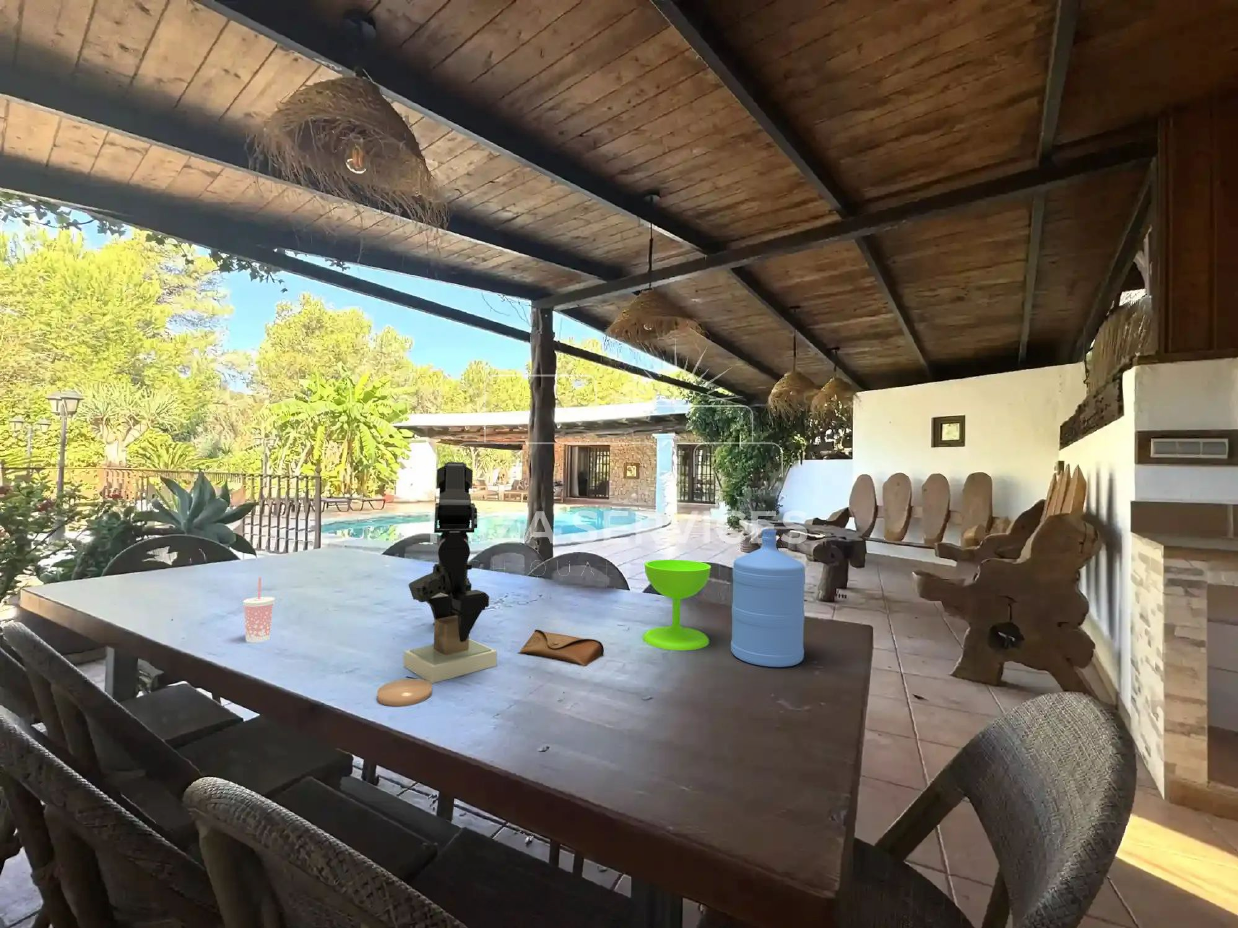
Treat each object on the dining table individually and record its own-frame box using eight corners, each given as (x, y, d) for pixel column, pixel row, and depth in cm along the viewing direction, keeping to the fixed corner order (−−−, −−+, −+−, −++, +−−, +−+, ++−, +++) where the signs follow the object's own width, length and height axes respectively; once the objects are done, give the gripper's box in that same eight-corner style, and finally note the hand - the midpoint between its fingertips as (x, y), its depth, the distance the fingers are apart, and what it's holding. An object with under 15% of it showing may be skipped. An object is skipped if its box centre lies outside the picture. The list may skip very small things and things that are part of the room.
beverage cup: (270, 641, 124) (272, 579, 124) (238, 644, 122) (240, 580, 122) (276, 634, 130) (278, 574, 130) (245, 636, 128) (247, 575, 128)
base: (403, 666, 111) (404, 649, 111) (466, 651, 121) (466, 635, 121) (431, 683, 103) (432, 665, 103) (496, 665, 113) (496, 649, 113)
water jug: (808, 671, 114) (811, 535, 114) (730, 664, 117) (733, 532, 117) (799, 648, 129) (801, 528, 129) (730, 642, 132) (733, 525, 132)
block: (433, 648, 112) (434, 619, 112) (456, 643, 116) (457, 615, 116) (445, 655, 108) (446, 624, 109) (468, 649, 112) (469, 620, 112)
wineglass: (635, 645, 128) (637, 567, 128) (651, 627, 143) (653, 557, 144) (704, 653, 123) (706, 573, 124) (713, 633, 139) (714, 562, 139)
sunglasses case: (513, 653, 120) (522, 622, 124) (528, 661, 126) (537, 632, 129) (587, 666, 113) (595, 634, 116) (599, 674, 119) (606, 643, 122)
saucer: (368, 694, 97) (368, 687, 97) (417, 681, 103) (418, 674, 103) (390, 710, 91) (390, 703, 91) (441, 696, 97) (441, 689, 97)
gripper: (394, 557, 113) (392, 633, 113) (438, 570, 100) (435, 656, 100) (445, 552, 121) (443, 623, 121) (491, 563, 108) (489, 644, 108)
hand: (451, 636), depth 112 cm, fingers open, 9 cm apart
